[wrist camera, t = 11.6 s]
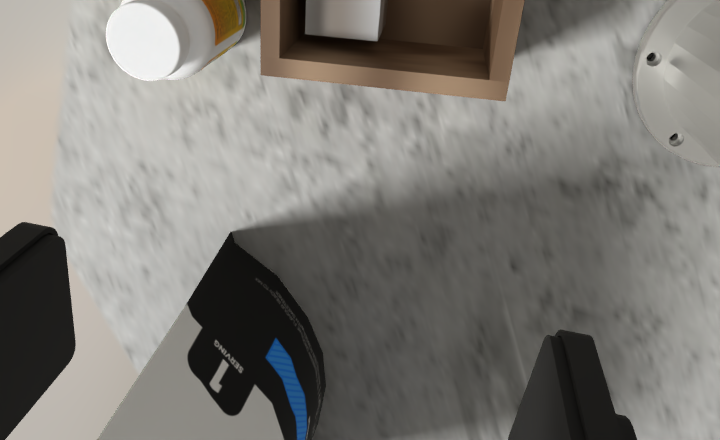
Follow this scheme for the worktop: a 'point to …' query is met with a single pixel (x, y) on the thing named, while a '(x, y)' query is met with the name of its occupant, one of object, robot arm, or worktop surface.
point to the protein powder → (229, 364)
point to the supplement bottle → (172, 35)
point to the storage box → (394, 43)
